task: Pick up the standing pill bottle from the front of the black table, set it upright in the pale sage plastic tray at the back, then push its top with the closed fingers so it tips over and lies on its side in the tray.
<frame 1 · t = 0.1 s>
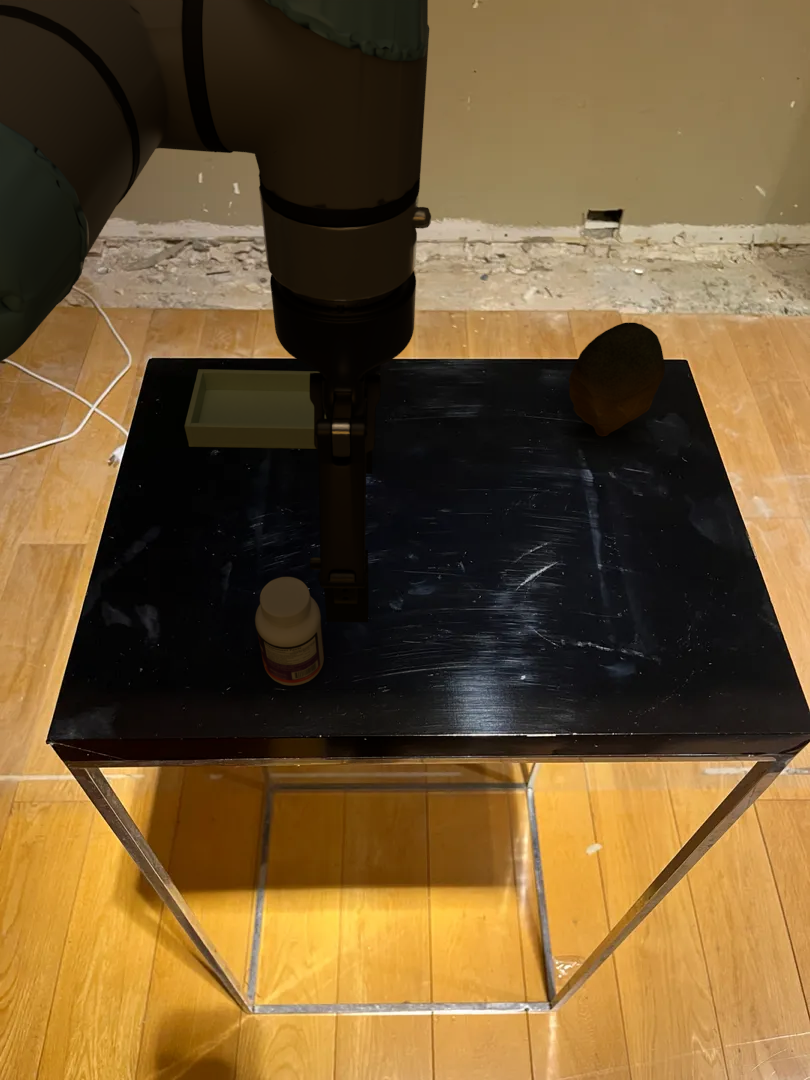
hand: (351, 538, 58), 18 cm above the table, tool pointing down, fingers open, 13 cm apart
decorative stone: (598, 437, 94), on the table
pill bottle: (294, 662, 73), on the table
tray: (281, 418, 94), on the table
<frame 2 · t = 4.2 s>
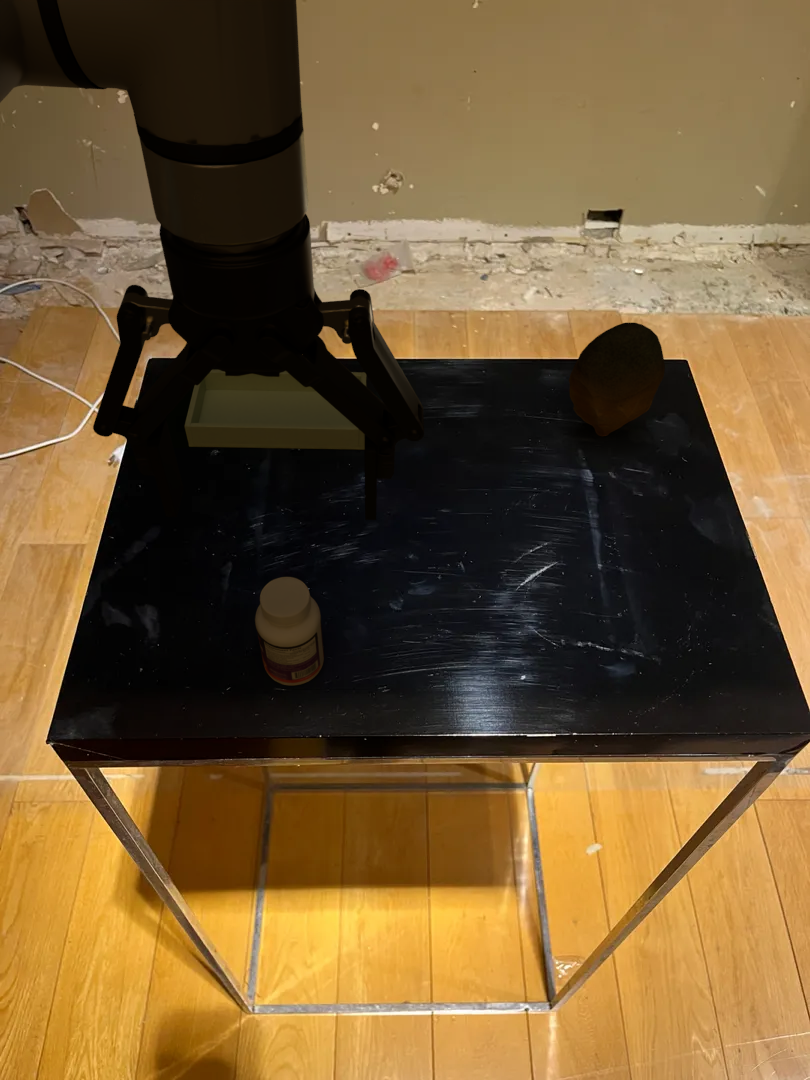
hand: (273, 504, 57), 20 cm above the table, tool pointing down, fingers open, 13 cm apart
nothing on the table moved.
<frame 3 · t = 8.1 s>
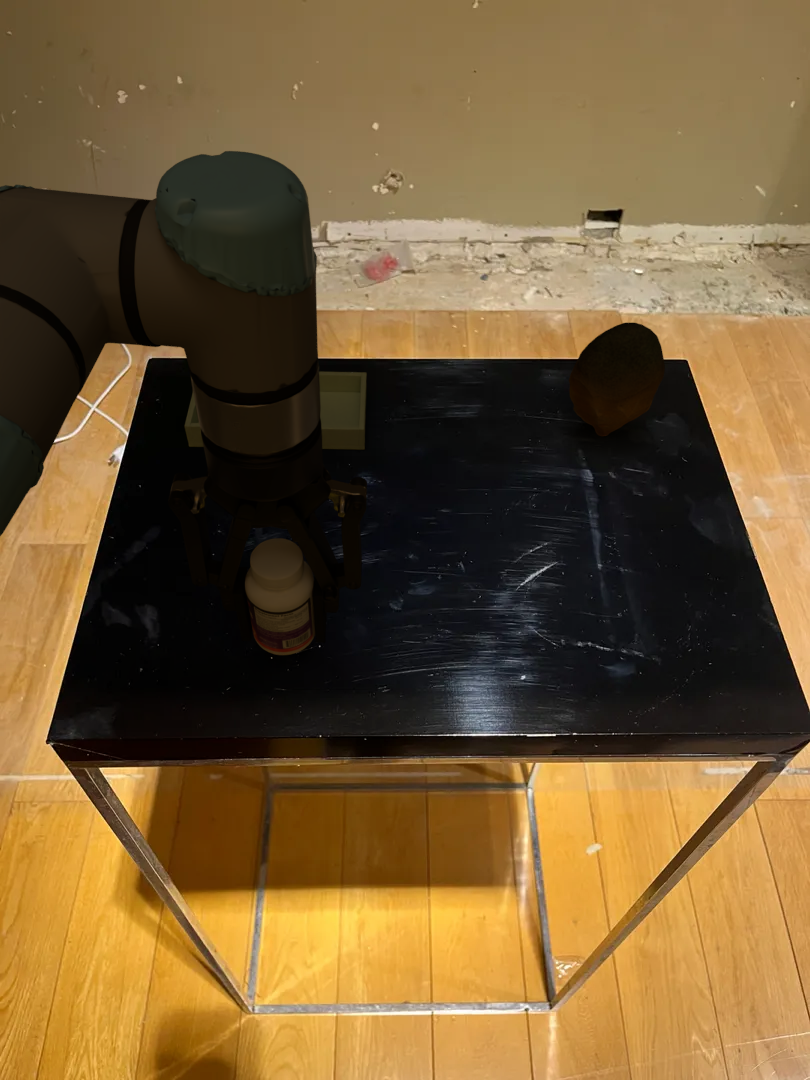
hand: (284, 627, 69), 5 cm above the table, tool pointing down, fingers closed on pill bottle, 5 cm apart
pill bottle: (285, 631, 70), point 5 cm above the table, touching gripper
everything else where it was.
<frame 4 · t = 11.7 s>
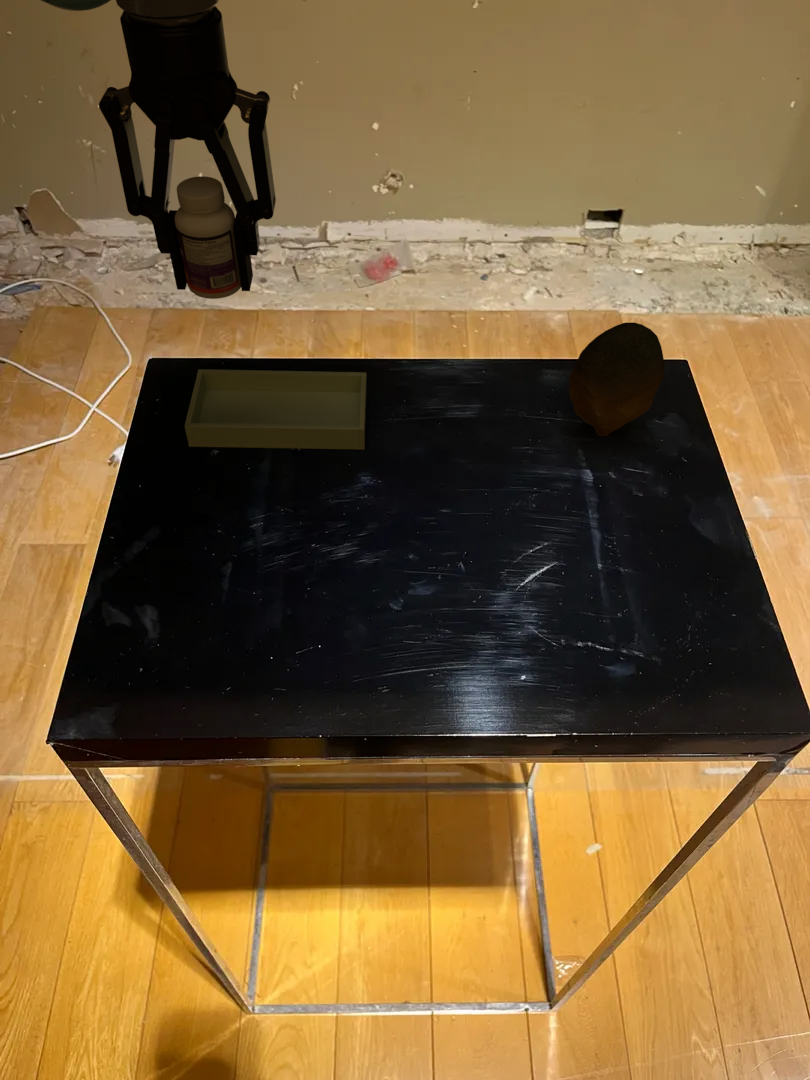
hand: (215, 281, 79), 18 cm above the table, tool pointing down, fingers closed on pill bottle, 5 cm apart
pill bottle: (216, 286, 80), point 17 cm above the table, touching gripper
everything else where it was.
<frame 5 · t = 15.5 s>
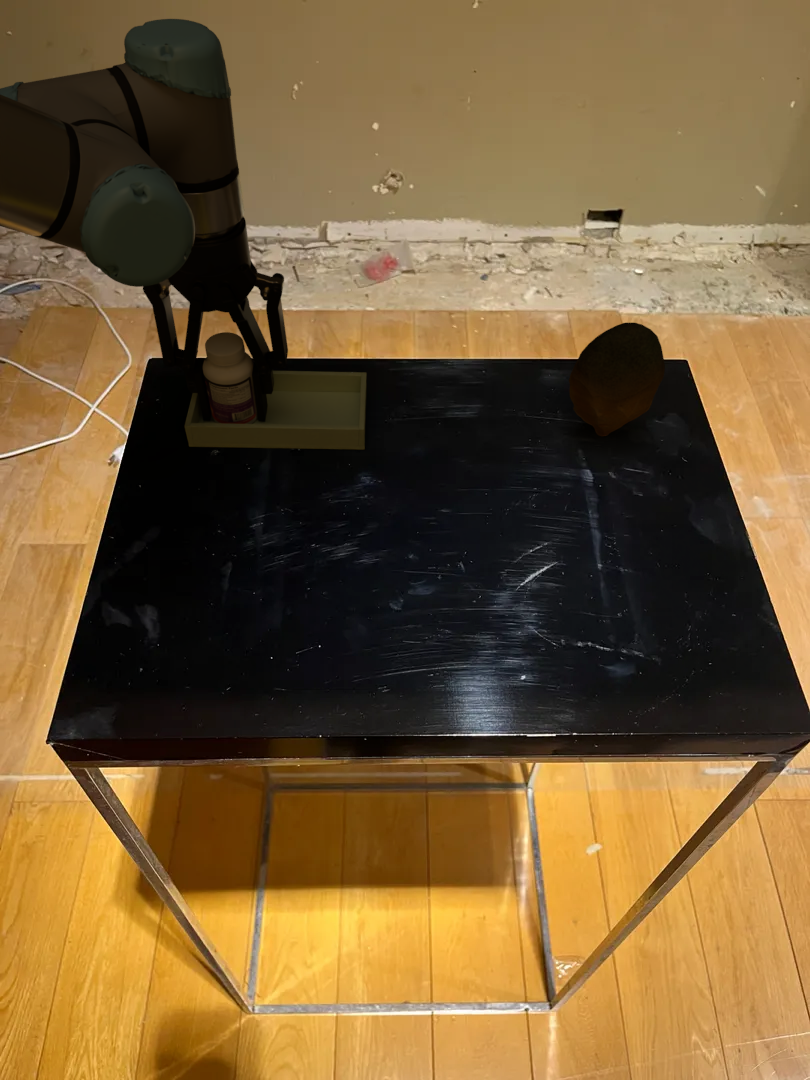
hand: (235, 412, 93), 1 cm above the table, tool pointing down, fingers closed on pill bottle, 5 cm apart
pill bottle: (236, 415, 93), resting on tray, touching gripper
everything else where it was.
when the fingers open (1 cm above the table, at t = 15.7 s): pill bottle stays where it is, resting on tray.
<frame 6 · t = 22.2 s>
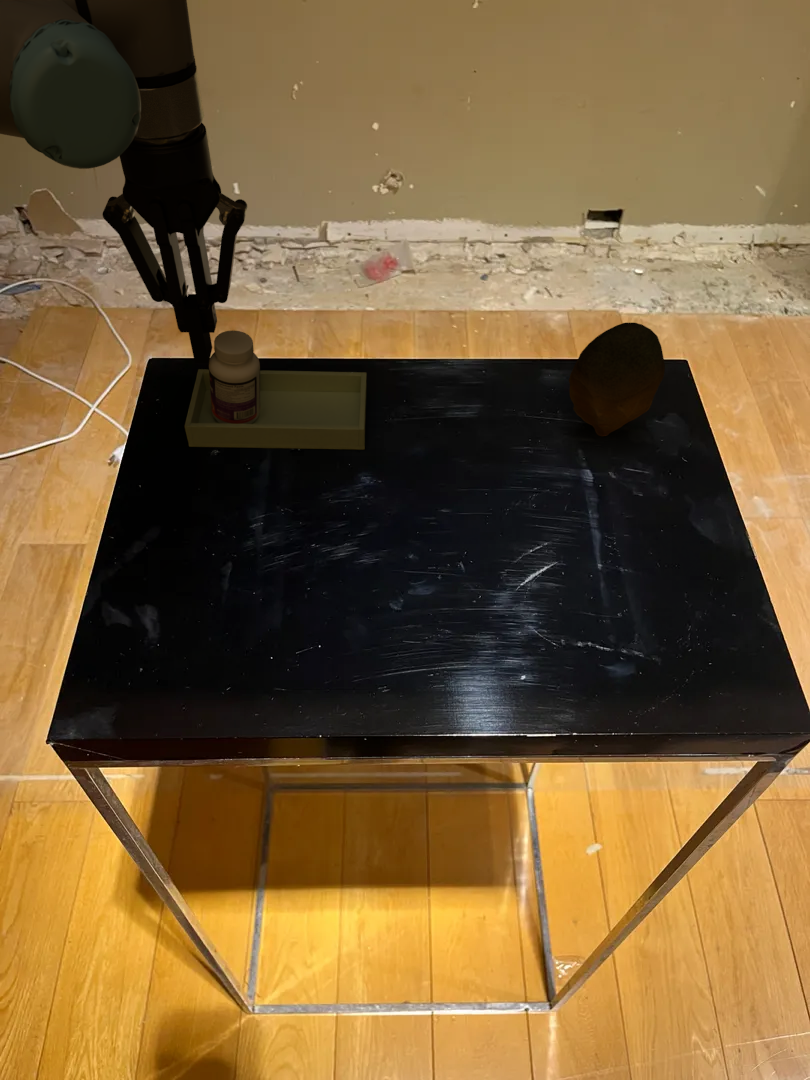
hand: (203, 355, 87), 9 cm above the table, tool pointing down, fingers closed
pill bottle: (235, 414, 93), point 1 cm above the table, touching gripper, tray
everything else where it was.
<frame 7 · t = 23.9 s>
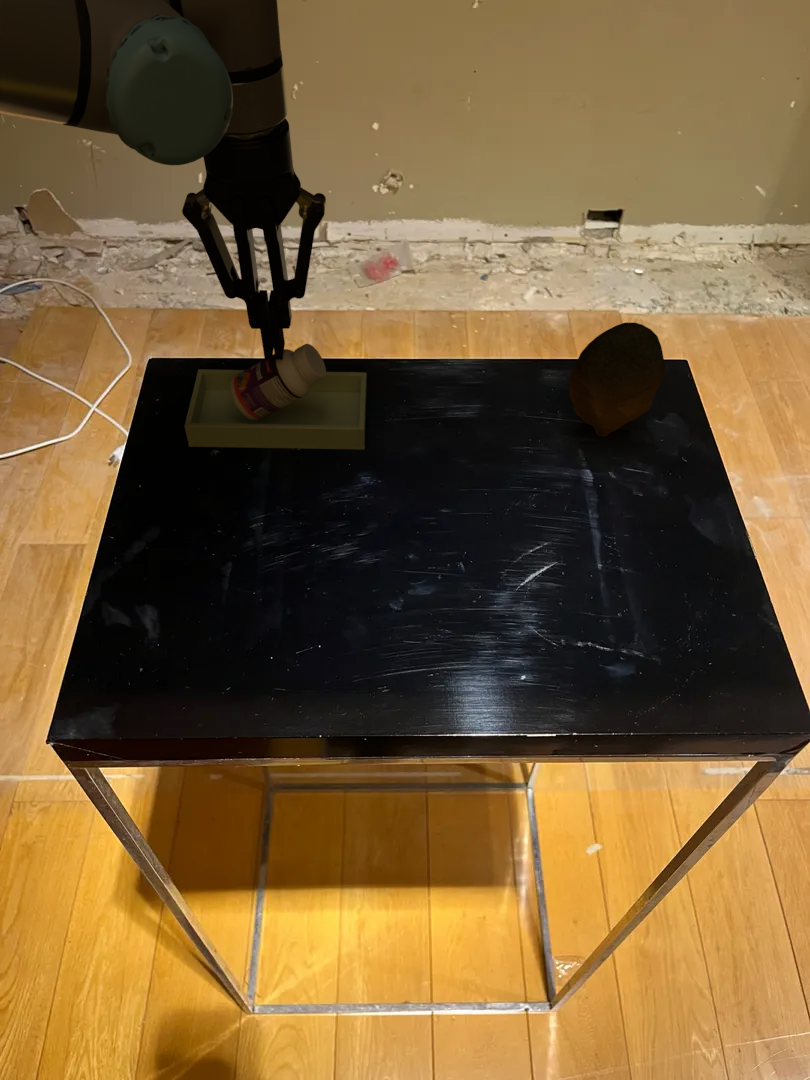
hand: (274, 351, 87), 9 cm above the table, tool pointing down, fingers closed
pill bottle: (243, 400, 91), point 3 cm above the table, touching gripper, tray
everything else where it was.
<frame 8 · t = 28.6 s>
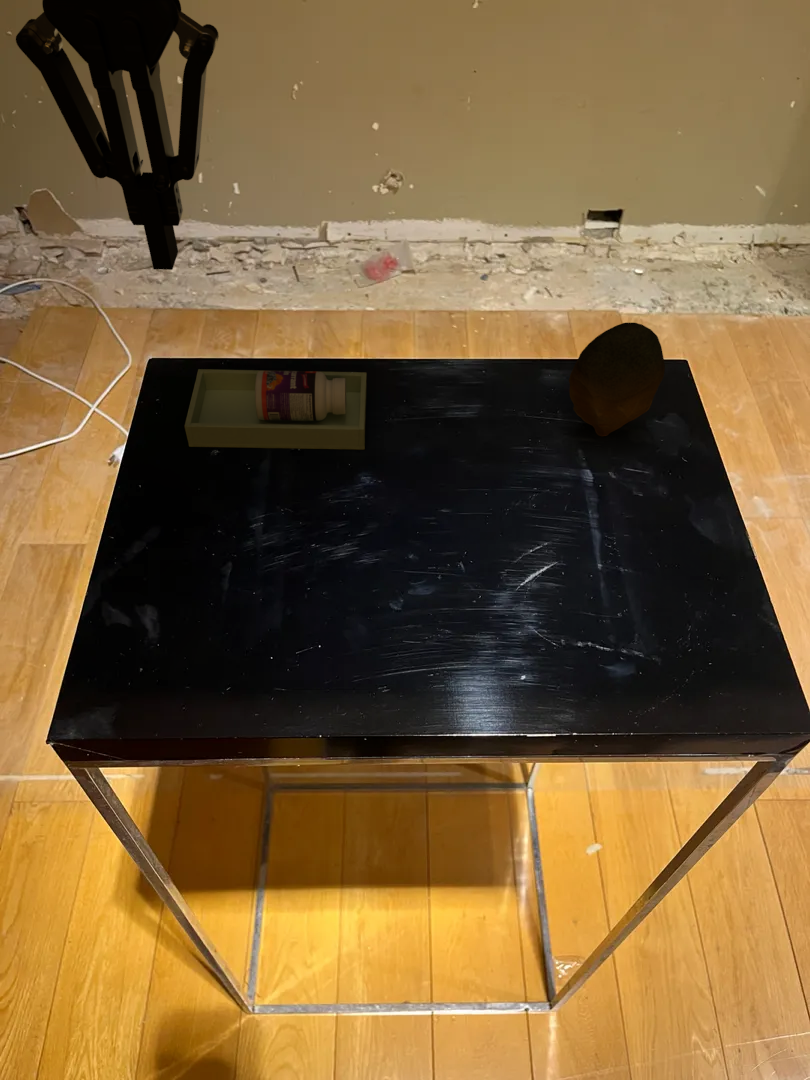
hand: (166, 260, 66), 26 cm above the table, tool pointing down, fingers closed
pill bottle: (255, 395, 91), point 3 cm above the table, touching tray
everything else where it was.
at the end: pill bottle tilted 90°; pill bottle inside the target area in the tray (2.5 cm from its centre), point 3.2 cm above the tray's base; the gripper is holding nothing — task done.
